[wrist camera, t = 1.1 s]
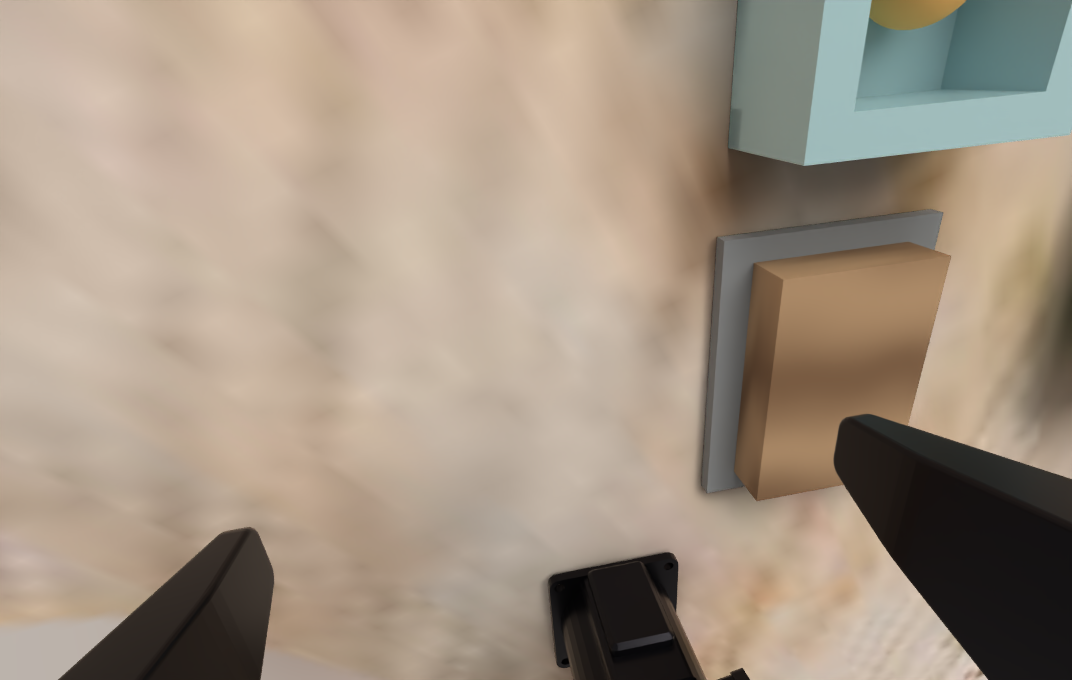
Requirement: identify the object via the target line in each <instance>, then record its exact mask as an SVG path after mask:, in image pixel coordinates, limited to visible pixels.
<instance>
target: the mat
mask: <svg viewBox="0 0 1072 680" xmlns="http://www.w3.org/2000/svg"><path fill="white" fill-rule="evenodd" d="M942 216H943V212H940V211H936V210H932V209H929V210H921V211H913V212H906V213H898V214H890V215H883V216H875V217H867V218H860V219H852V220H844V221H837V222H829V223H821V224H814V225H806V226H798V227H791V228H783V229H775V230H767V231H760V232H752V233H744V234H737V235H729V236H721V237H717V246H716V262H715V277H714V293H713V309H712V325H711V340H710V356H709V372H708V387H707V403H706V419H705V435H704V450H703V466H702V482H701V485H702V487H703V488H704V490H705V491H706V493H711V492H716V491H722V490H727V489H732V488H738V487H743V486H745V485H744V484H743V483H742V481H741V480H740V479H739V477H738V476H737V475H736V474H735V472H734V465H735V455H736V444H737V434H738V423H739V413H740V402H741V392H742V381H743V371H744V360H745V350H746V339H747V329H748V318H749V308H750V297H751V287H752V276H753V266H754V263H756V262H763V261H770V260H778V259H785V258H792V257H800V256H807V255H814V254H821V253H829V252H836V251H843V250H851V249H858V248H865V247H873V246H880V245H887V244H895V243H902V242H912V243H914V244H917V245H920V246H923V247H926V248H929V249H932V250H934V249H935V245H936V241H937V237H938V233H939V229H940V225H941V220H942Z"/></svg>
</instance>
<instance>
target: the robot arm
mask: <svg viewBox="0 0 1072 680" xmlns="http://www.w3.org/2000/svg"><path fill="white" fill-rule="evenodd" d="M833 462H834V468H835V471H836V473H837V475H838V477H839V478H840V480H841V481H842V483H843V484H844V486H845V487H846V489H847V490H848V492H849V493H850V495H851V497H852V498H853V500H854V501H855V503H856V504H857V506H858V507H859V509H860V510H861V512H862V513H863V515H864V516H865V518H866V520H867V521H868V523H869V524H870V526H871V527H872V529H873V530H874V532H875V533H876V535H877V536H878V538H879V540H880V541H881V543H882V544H883V546H884V547H885V548H886V550H887V551H888V553H889V554H890V556H891V557H892V558H893V560H894V561H895V562H896V564H897V565H898V566H899V568H900V569H901V570H902V572H903V573H904V574H905V575H906V577H907V578H908V579H909V580H910V582H911V583H912V584H913V586H914V587H915V588H916V589H917V591H918V592H919V593H920V594H921V596H922V597H923V598H924V599H925V601H926V602H927V603H928V604H929V606H930V607H931V608H932V609H933V611H934V612H935V613H936V614H937V616H938V617H939V618H940V620H941V621H942V622H943V623H944V625H945V626H946V627H947V628H948V630H949V631H950V632H951V633H952V635H953V636H954V637H955V638H956V640H957V641H958V642H959V643H960V645H961V646H962V647H963V649H964V650H965V651H966V652H967V654H968V655H969V656H970V657H971V659H972V660H973V661H974V662H975V664H976V665H977V666H978V667H979V669H980V670H981V671H982V672H983V674H984V675H985V676H986V677H987V679H988V680H1072V479H1069V478H1066V477H1063V476H1060V475H1057V474H1054V473H1051V472H1048V471H1045V470H1042V469H1039V468H1035V467H1032V466H1029V465H1026V464H1023V463H1020V462H1017V461H1014V460H1011V459H1008V458H1005V457H1002V456H999V455H996V454H993V453H989V452H986V451H983V450H980V449H977V448H974V447H971V446H968V445H965V444H962V443H959V442H956V441H953V440H950V439H947V438H943V437H940V436H937V435H934V434H931V433H928V432H925V431H922V430H919V429H916V428H913V427H910V426H907V425H904V424H901V423H897V422H894V421H891V420H888V419H885V418H882V417H879V416H876V415H873V414H860V415H855V416H849V417H846V418H844V419H843V420H842V421H841V422H840V424H839V428H838V434H837V440H836V445H835V451H834V457H833ZM677 582H678V561H677V559H676V557H675V555H674V554H672V553H662V554H657V555H652V556H647V557H642V558H637V559H632V560H627V561H621V562H616V563H611V564H606V565H601V566H596V567H591V568H586V569H581V570H576V571H571V572H566V573H561V574H556V575H553V576H552V577H551V578H550V579H549V580H548V589H549V599H550V609H551V619H552V629H553V639H554V649H555V658H556V662H557V665H558V666H559V667H561V668H567V667H571V672H572V676H573V680H706V677H705V675H704V673H703V671H702V669H701V666H700V664H699V662H698V660H697V658H696V655H695V653H694V651H693V649H692V647H691V644H690V642H689V640H688V638H687V636H686V633H685V631H684V629H683V627H682V625H681V623H680V620H679V618H678V616H677V614H676V605H677ZM559 584H560V585H559ZM273 588H274V573H273V568H272V565H271V563H270V560H269V558H268V556H267V553H266V551H265V548H264V546H263V543H262V541H261V539H260V536H259V534H258V532H257V531H256V530H255V529H254V528H251V527H246V528H241V529H235V530H230V531H225V532H223V533H221V534H219V535H218V536H217V537H216V538H215V539H214V540H212V541H211V542H210V543H209V544H208V545H207V546H206V547H205V548H204V549H202V550H201V551H200V552H199V553H198V554H197V555H196V556H195V557H194V558H192V559H191V560H190V561H189V562H188V563H187V564H186V565H185V566H184V567H182V568H181V569H180V570H179V571H178V572H177V573H176V574H175V575H174V576H173V577H171V578H170V579H169V580H168V581H167V582H166V583H165V584H164V585H163V586H161V587H160V588H159V589H158V590H157V591H156V592H155V593H154V594H153V595H151V596H150V597H149V598H148V599H147V600H146V601H145V602H144V603H143V604H141V605H140V606H139V607H138V608H137V609H136V610H135V611H134V612H133V613H131V614H130V615H129V616H128V617H127V618H126V619H125V620H124V621H123V622H122V623H120V624H119V625H118V626H117V627H116V628H115V629H114V630H113V631H112V632H110V633H109V634H108V635H107V636H106V637H105V638H104V639H103V640H102V641H100V642H99V643H98V644H97V645H96V646H95V647H94V648H93V649H92V650H91V651H89V652H88V653H87V654H86V655H85V656H84V657H83V658H82V659H81V660H79V661H78V662H77V663H76V664H75V665H74V666H73V667H72V668H71V669H70V670H68V671H67V672H66V673H65V674H64V675H63V676H62V677H61V678H59V679H58V680H260V679H261V673H262V666H263V658H264V652H265V644H266V637H267V630H268V623H269V616H270V609H271V602H272V595H273ZM730 674H731V675H729V676H726V677H723V678H720V679H718V680H750V679H749V677H748V676H747V674H746V673H745V671H744V669H743V668H740V669H738V670H735V671H732V672H730Z"/></svg>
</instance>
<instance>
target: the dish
mask: <svg viewBox="0 0 1072 680" xmlns="http://www.w3.org/2000/svg"><path fill="white" fill-rule="evenodd" d="M871 1H872V0H738V8H737V23H736V38H735V52H734V67H733V82H732V97H731V112H730V126H729V141H728V148H730V149H734V150H738V151H743V152H747V153H751V154H755V155H760V156H764V157H768V158H772V159H777V160H781V161H785V162H789V163H794V164H798V165H802V166H807V165H816V164H824V163H833V162H842V161H850V160H859V159H867V158H876V157H884V156H893V155H902V154H910V153H919V152H927V151H936V150H944V149H953V148H962V147H970V146H979V145H987V144H996V143H1004V142H1013V141H1022V140H1030V139H1039V138H1047V137H1056V136H1064V135H1070V133H1071V130H1072V0H966V1H965V2H964V3H963V4H962V5H961V6H960V7H959V8H958V9H956V10H955V11H954V12H952V13H951V14H950V15H948V16H947V17H945V18H943V19H942V20H940V21H938V22H936V23H934V24H931V25H928V26H925V27H922V28H918V29H912V30H894V29H889V28H886V27H883V26H881V25H879V24H877V23H876V22H874V21H873V20H872V19H871V18H869V14H870V8H871Z"/></svg>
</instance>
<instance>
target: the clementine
mask: <svg viewBox="0 0 1072 680" xmlns="http://www.w3.org/2000/svg"><path fill="white" fill-rule="evenodd" d="M965 1H966V0H872V1H871V8H870V14H869V18H871V19H872V20H873V21H874V22H876V23H877V24H879V25H881V26H883V27H886V28H889V29H894V30H912V29H918V28H922V27H925V26H928V25H931V24H934V23H936V22H938V21H940V20H942V19H943V18H945V17H947V16H948V15H950V14H951V13H952V12H954V11H955V10H956V9H958V8H959V7H960V6H961V5H962V4H963V3H964V2H965Z"/></svg>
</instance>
